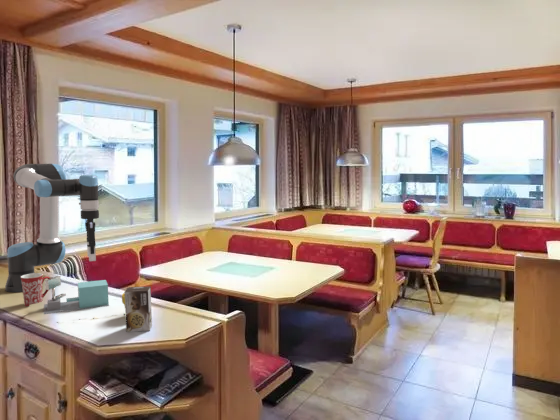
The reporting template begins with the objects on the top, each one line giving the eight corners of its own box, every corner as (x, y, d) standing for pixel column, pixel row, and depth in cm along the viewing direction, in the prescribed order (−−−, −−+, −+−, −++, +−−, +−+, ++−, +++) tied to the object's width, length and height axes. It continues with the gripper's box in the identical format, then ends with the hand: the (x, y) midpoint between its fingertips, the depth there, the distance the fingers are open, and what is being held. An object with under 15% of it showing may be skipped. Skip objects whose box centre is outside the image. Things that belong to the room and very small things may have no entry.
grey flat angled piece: (45, 302, 195) (44, 280, 194) (62, 295, 206) (61, 274, 205) (49, 302, 195) (48, 280, 194) (66, 295, 206) (65, 274, 205)
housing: (44, 306, 204) (43, 293, 204) (105, 299, 216) (105, 286, 215) (43, 317, 191) (43, 302, 190) (109, 308, 202) (108, 295, 202)
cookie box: (152, 325, 182) (151, 285, 180) (149, 331, 175) (148, 290, 174) (128, 326, 180) (127, 286, 179) (125, 332, 174) (124, 291, 173)
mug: (25, 308, 202) (23, 279, 201) (19, 304, 209) (18, 275, 207) (55, 302, 211) (54, 274, 210) (49, 298, 217) (47, 270, 216)
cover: (66, 303, 206) (65, 283, 205) (106, 298, 214) (105, 279, 213) (67, 309, 197) (66, 289, 196) (108, 304, 205) (107, 284, 204)
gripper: (79, 207, 211) (81, 254, 213) (81, 212, 190) (83, 264, 192) (96, 207, 214) (98, 253, 216) (100, 211, 194) (102, 262, 196)
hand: (91, 258), depth 204 cm, fingers open, 10 cm apart
